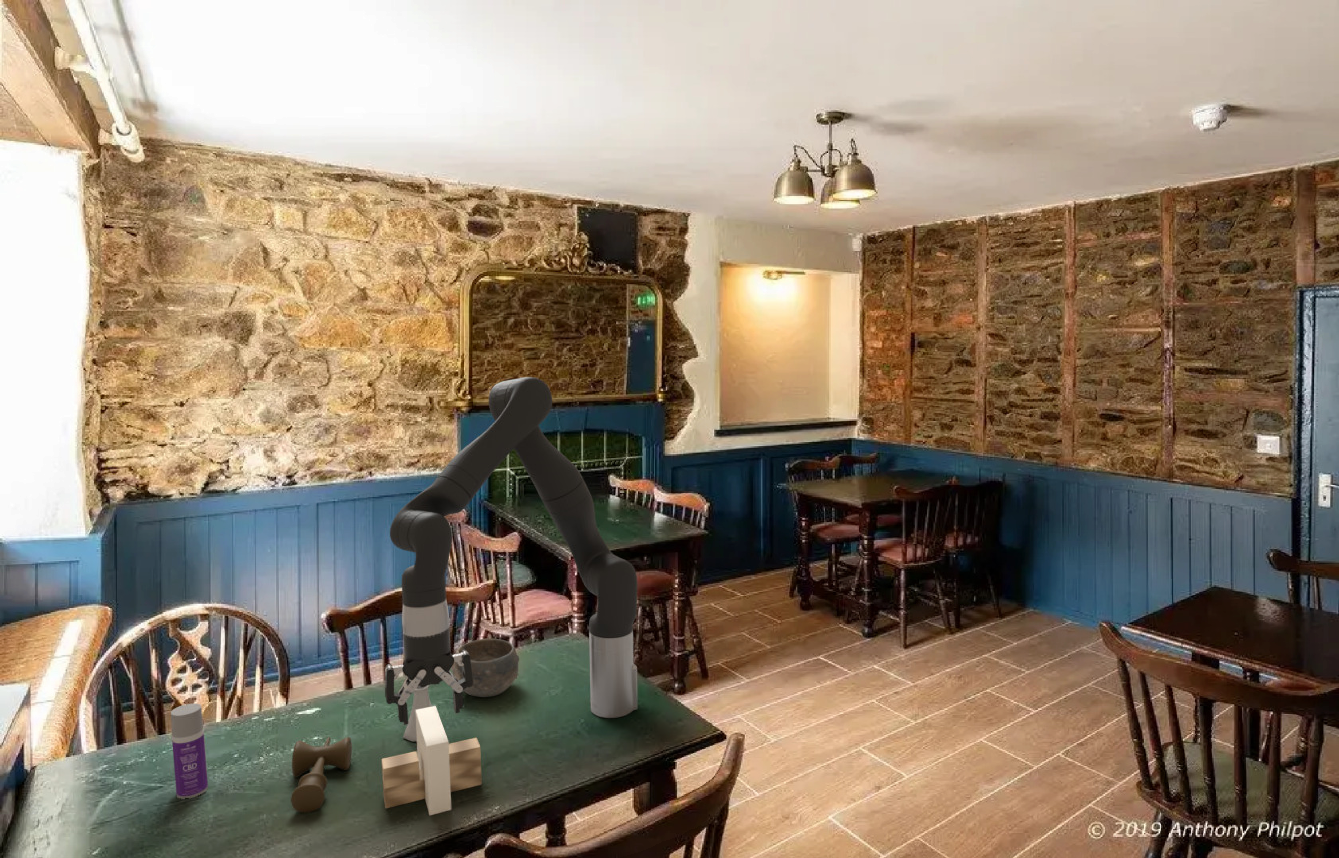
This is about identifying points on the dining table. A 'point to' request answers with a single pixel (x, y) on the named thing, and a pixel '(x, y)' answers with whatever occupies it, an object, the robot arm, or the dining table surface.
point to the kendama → (316, 771)
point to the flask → (419, 702)
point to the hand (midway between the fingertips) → (431, 716)
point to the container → (189, 751)
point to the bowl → (489, 666)
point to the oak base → (408, 780)
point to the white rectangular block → (433, 759)
